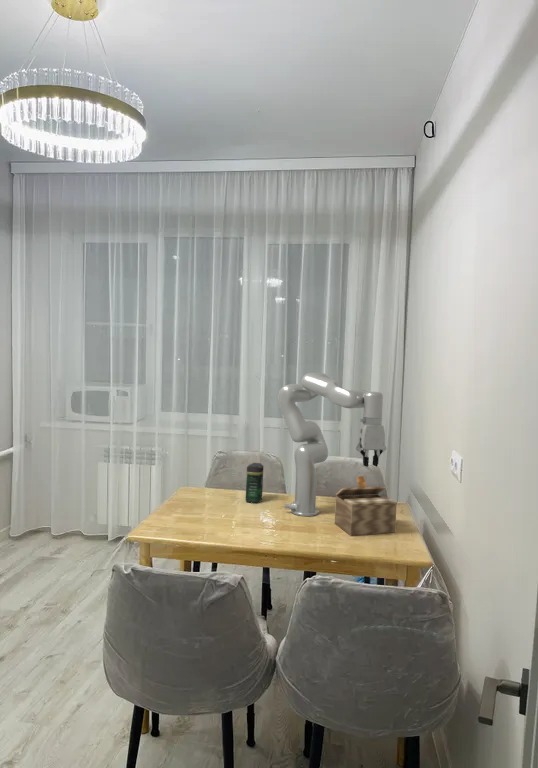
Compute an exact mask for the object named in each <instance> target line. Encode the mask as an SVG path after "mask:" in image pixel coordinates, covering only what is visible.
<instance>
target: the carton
mask: <svg viewBox="0 0 538 768" xmlns="http://www.w3.org/2000/svg"><path fill="white" fill-rule="evenodd" d="M397 503H398V502H397V501H396V500H394V499H392V498H390V497H387V496H386V497H383V496H382V495H379V494H371V495H347V496H336V495H335V504H334V505H335V506H334V507H335V508H334V509H335V510H334V525H336V526H337V527H338V528H340V529H341V530H343V532H345V533H346V534H348V535H349V536H350V537H357V536H370V535H371V536H372V535H373V536H374V535H389V534H396V527H397V525H396V524H397V523H396V522H397V507H398V506H397Z"/></svg>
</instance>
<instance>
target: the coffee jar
mask: <svg viewBox="0 0 538 768" xmlns="http://www.w3.org/2000/svg"><path fill="white" fill-rule="evenodd" d="M245 483H246V484H245V485H246V486H245V502H246V501H247V502H246V503H250V502H252V503H251V504H258V502H259V503H261V502H262V500H263V488H264V465H263V464H262V463H261V462H252V463H250V464H248V465H247V466H246V482H245Z"/></svg>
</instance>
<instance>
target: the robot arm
mask: <svg viewBox="0 0 538 768" xmlns="http://www.w3.org/2000/svg"><path fill="white" fill-rule="evenodd" d="M383 395H384V394H383V393H382V392H380V391H367V390H362V389H353V390H352V389H351V390H349V389H345V388H343V387H340V386H339V385H338V382H337V381H336V380H335V379H332V378H330V377H329V375H328V374H326V373H324V372H308V373H306V374H304V375H303V376H302V378H301V383H290V384H285V385H284V386H282V387H281V388H280V389H279V391H278V394H277V403H278V407H279V409H280V411H281V414H282V417H283V419H284V422H285V424H286V427H287V430H288V433H289V435H290V437H291V439H292V441H293V442H294V443H297V444H298V443H304V444H300V445H299V446H297V447H296V448H295V451H294V454H293V455H294V463H295V486H294V487H295V488H294V495H295V496H294V501H292V503H290V504H289V503H288V504H287V503H286V504H284V509H289V510H290V512H291V514H293V515H296V516H302V517H312V516H317V515H319V511H320V510H319V509H317V508H316V503H317V502H316V501H317V471H316V467H315V464H321V463H323V462H326V460H327V459H328V457H329V449H328V445H327V443H326V440H325V438H324V434H323V433H322V430H321V427H320V426H319V425H318V424H317V423H316V422H315V421H311V420H308V421H306V419H304V416H303V413H302V411H301V409H300V408H299V406H298V405H297V404H296V403H303V402H309V401H311V400H313V399H315V398H316V397H318V396H321V397H323V398H326V399H327V400H328V401H329V402H331V403H332V404H334V405H337V406H339V407H342V408H345V409H363V417H362V418H360V423H362V424H361V425H360V429H359V430H360V431H359V436H358V444H357V445H356V447H355V450H356V451H357V452H359V453H360V454H361V456H362V464H363V465H362V466H363V467H365V468H366V467H367V468H368V467H369V462H370V461H369V460H370V458H369V457H368V455H369V451H373V453H374V455H373V456H372V466H375V468H377V467H379V466H378V465H379V458H380V457H381V455H382V454H383V453H384V452H385V451H386V450H387V446H386V434H385V426H384V425H383V422H382V421H383V404H384V403H383V402H384V401H383V400H384V396H383ZM305 442H306V443H305Z"/></svg>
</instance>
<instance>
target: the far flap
mask: <svg viewBox="0 0 538 768" xmlns="http://www.w3.org/2000/svg"><path fill="white" fill-rule="evenodd" d="M356 480H357V486H358V487H342V488H340V489H339V490H338V491H337V492H336V493H335V497H336V496H352V495H376V494H378V495H379V494H380V493H382V492H383V491H384V490H385V489H386V486H385V485H384V486H367V483H366V479H365V476H364V475H363V476H362V475H361V476H357V477H356Z"/></svg>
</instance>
